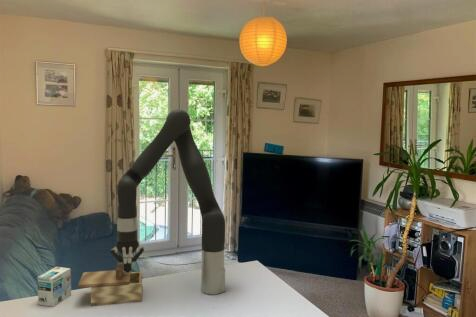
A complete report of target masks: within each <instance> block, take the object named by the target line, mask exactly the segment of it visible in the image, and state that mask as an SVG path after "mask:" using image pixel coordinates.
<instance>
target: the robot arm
mask: <svg viewBox="0 0 476 317" xmlns="http://www.w3.org/2000/svg"><path fill="white" fill-rule="evenodd" d="M173 143H175V145H176V148H177V152H178V157H179V161H180V164H181V168H182V171H183V174H184V177H185V180H186V182H187V184H188V186H189V189H190V190H191V192H192V194H193V195H194V197H195V199H196V201H197V204H198V207H199V211H200V214H201V262H200V263H201V264H200V265H201V272H200V273H201V275H200V276H201V278H200V280H201V281H200V289H201V292H202V293H203V294H206V295H218V294H221V293H225V291H226V268H225V245H226V244H225V243H226V218H225V215H224V213H223V211H222V209H221V208H220V205H219V203H218V202H217V199H216V196H215V193H214V190H213V184H212V180H211V177H210V173H209V170H208V168H207V164H206V163H205V159H204V158H203V155H202V154H201V151H200V150H199V148H198V146H197V145H196V143H195V139H194V137H193V133H192V130H191V117H190V115H189V113H188V112H187V111H185V110H183V109H179V108H178V109H174V110H171V111H170V112H169V113H168V115H167V116H166V119H165V121H164V124H163V125H162V127H161V128H160V131H159V132H158V133H157V134H156V136H155V137H154V139H153V140H151V142H150V143H149V144H148V145H147V146H146V147H145V148H144V150H143V151H142V152H141V153H140V154H139V156H137V158H136V159H135V160H134V162H133V164H132V165H131V166H130V168H128V170H127V171H126V172H125V173H124V174H123V175H122V176H121V178H120V179H119V181H118V182H117V187H116V189H117V192H116V193H117V203H118V204H117V221H116V223H117V226H116V230H117V231H116V232H117V233H116V235H117V237H116V239H117V241H116V242H117V243H116V245H115V247H112V248H111V250H110V253H111V255H112V256H113V257H114V258H115V259H116V260H117V262H123V270H124V271H126V273H129V272H130V271H131V272H132V268H133V266H132V265H133V262H136V261H137V260H138V259H139V257H140V256H142V254H143V253H144V251H145V247H144V246H141V245H140V243H139V240H138V239H139V237H138V234H139V233H138V232H139V231H138V228H139V226H138V216H137V215H138V206H137V190H138V186H139V185H140V184H141V182H142V181H143V180H144V179H145V178H146V177H147V176H148V175H149V174H150V173H151V172H152V170H153V169H154V168H155V167H156V166H157V164H158V163H159V161H160V160H161V159H162V157H163V155H164V154H165V153H166V151H167V150H168V148H169V147H170V146H171V145H172V144H173ZM136 250H137V252H136ZM135 252H136V253H135ZM134 253H135V254H134ZM133 254H134V256H133Z"/></svg>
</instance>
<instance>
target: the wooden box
mask: <svg viewBox="0 0 476 317" xmlns="http://www.w3.org/2000/svg"><path fill="white" fill-rule="evenodd" d="M142 297H143V271H131V275H130V283H129V284H123V285H110V286H97V287H90V306H91V307H94V306H95V307H96V306H107V305H119V304H121V305H122V304H129V303H130V304H131V303H141V302H143V301H142V300H143V298H142Z"/></svg>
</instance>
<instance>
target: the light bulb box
mask: <svg viewBox="0 0 476 317" xmlns="http://www.w3.org/2000/svg"><path fill="white" fill-rule="evenodd" d="M70 296H72V270H71V268H69V267H62V266H55V267H53V268H52V269H49V270H48V271H46V272H43V274H40V275H39V276H37V302H38V303H37V304H38V306H45V307H55V306H56V305H58V304H60V303H61V302H62V301H64V300H66V299H67V298H69V297H70Z"/></svg>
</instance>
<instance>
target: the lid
mask: <svg viewBox="0 0 476 317" xmlns="http://www.w3.org/2000/svg"><path fill="white" fill-rule="evenodd" d="M131 272H132V270H131V271H130V272H129V273H126V271H124V263H123V262H119V261H117V263H116V267H115V269H113V270H99V271H85V272H82V275H81V276H80V277H81V278H80V279H79V282H78V284H77V289H81V288H91V287H97V286H110V285H123V284H129V283H130V275H131Z"/></svg>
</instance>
